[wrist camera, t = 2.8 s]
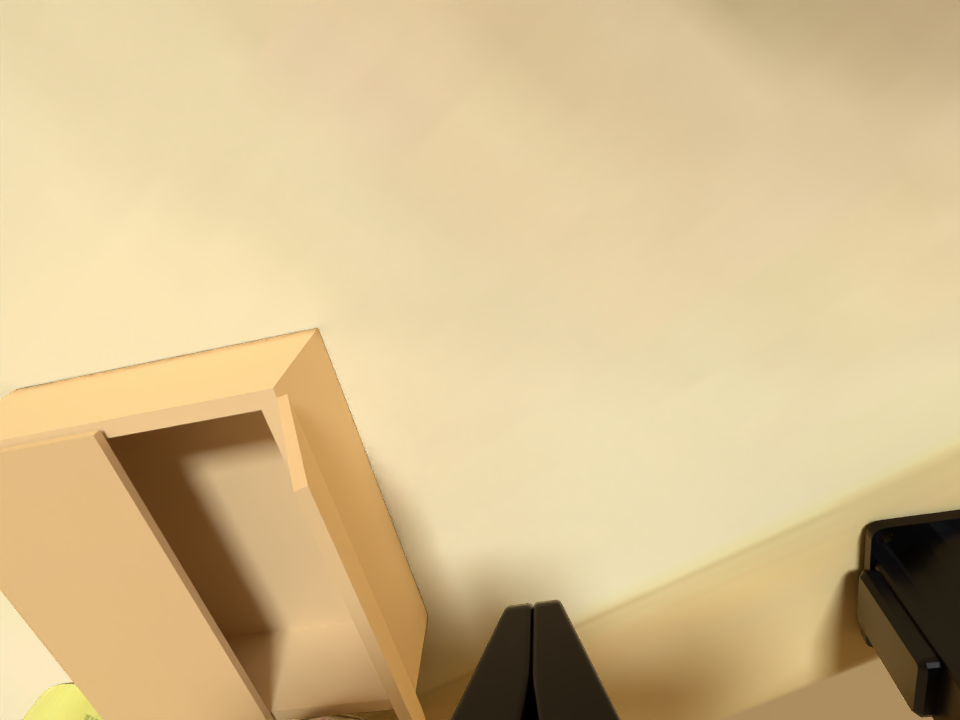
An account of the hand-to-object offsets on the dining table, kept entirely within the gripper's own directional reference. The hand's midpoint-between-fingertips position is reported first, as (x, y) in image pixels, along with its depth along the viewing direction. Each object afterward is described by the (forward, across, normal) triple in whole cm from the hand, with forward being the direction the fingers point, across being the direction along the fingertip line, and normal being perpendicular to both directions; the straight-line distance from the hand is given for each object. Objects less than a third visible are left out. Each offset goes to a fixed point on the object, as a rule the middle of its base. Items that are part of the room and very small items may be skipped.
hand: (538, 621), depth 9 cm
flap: (+5, +6, +6) cm, 10 cm away
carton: (+12, +13, +6) cm, 19 cm away
